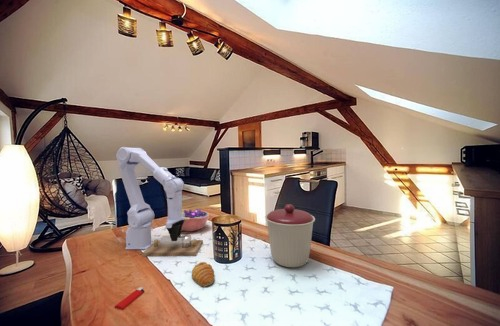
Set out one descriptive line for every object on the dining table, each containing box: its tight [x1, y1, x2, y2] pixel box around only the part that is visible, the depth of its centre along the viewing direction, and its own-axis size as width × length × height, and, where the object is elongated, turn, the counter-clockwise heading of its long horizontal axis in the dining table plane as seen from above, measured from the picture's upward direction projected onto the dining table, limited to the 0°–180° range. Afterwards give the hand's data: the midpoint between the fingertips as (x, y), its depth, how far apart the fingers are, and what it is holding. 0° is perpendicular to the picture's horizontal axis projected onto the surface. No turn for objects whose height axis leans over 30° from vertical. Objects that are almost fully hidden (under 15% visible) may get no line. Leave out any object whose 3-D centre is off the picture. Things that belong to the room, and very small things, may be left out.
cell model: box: [181, 208, 210, 232], centre depth 112 cm, size 17×20×11 cm
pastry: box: [191, 261, 215, 288], centre depth 66 cm, size 9×7×4 cm
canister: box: [264, 203, 316, 268], centre depth 77 cm, size 18×18×21 cm
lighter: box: [114, 286, 145, 311], centre depth 58 cm, size 3×1×8 cm
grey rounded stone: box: [159, 234, 192, 248], centre depth 88 cm, size 12×4×4 cm, turn 89°
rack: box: [142, 238, 204, 257], centre depth 88 cm, size 21×12×4 cm, turn 89°
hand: (175, 239), depth 88 cm, fingers closed on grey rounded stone, 3 cm apart
